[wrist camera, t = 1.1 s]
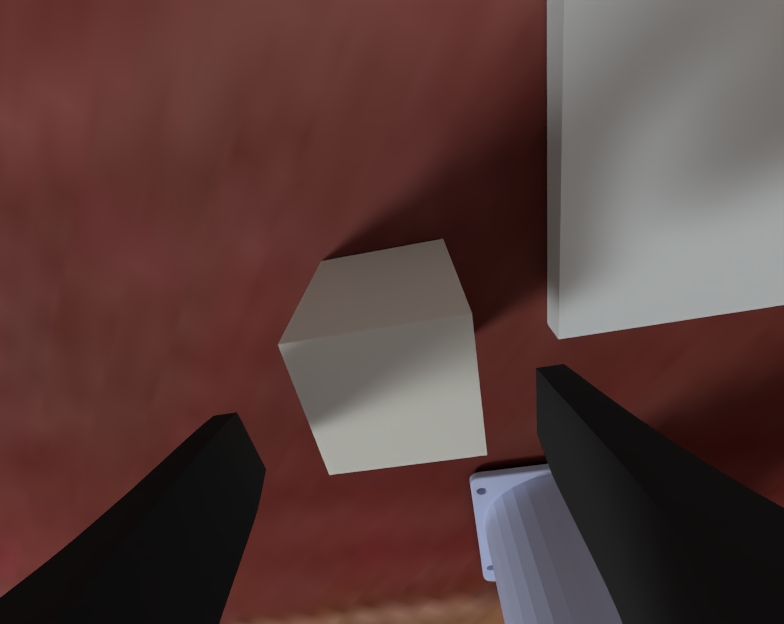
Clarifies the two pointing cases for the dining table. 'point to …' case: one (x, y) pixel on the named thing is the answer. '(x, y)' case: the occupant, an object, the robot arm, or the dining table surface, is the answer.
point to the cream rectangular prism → (387, 360)
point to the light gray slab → (663, 161)
